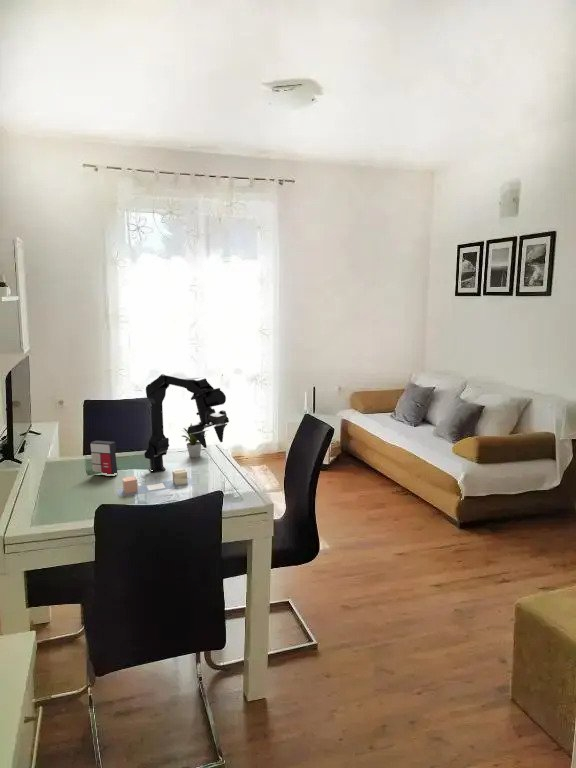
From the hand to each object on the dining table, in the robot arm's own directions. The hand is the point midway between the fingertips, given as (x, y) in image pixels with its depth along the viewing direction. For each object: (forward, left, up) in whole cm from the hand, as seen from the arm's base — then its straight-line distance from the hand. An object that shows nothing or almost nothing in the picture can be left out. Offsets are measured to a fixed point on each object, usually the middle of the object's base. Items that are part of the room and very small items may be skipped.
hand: (213, 445), depth 241 cm
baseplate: (-2, -24, -15) cm, 29 cm away
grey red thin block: (-32, -41, -15) cm, 55 cm away
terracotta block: (-2, -34, -14) cm, 37 cm away
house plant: (-40, +1, -15) cm, 43 cm away
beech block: (-2, -14, -14) cm, 20 cm away
